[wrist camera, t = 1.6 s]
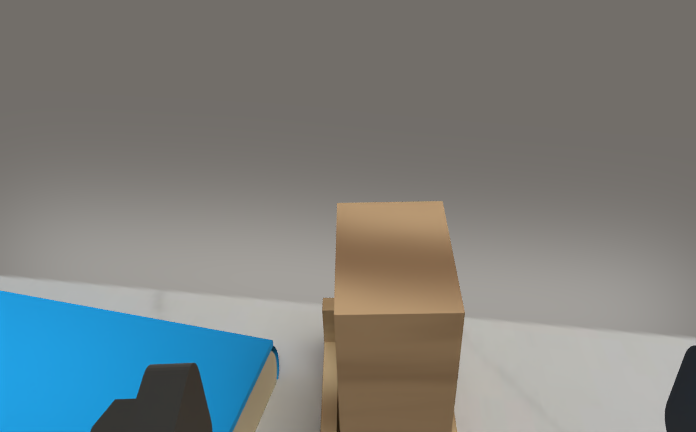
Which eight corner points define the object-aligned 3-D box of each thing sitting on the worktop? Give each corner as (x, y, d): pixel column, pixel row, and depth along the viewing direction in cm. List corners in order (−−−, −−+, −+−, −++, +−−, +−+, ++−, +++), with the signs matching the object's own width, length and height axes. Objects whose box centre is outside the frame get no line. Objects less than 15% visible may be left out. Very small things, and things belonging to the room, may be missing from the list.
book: (130, 651, 25) (-362, 504, 30) (152, 693, 27) (-305, 551, 32) (277, 330, 38) (-80, 266, 43) (283, 378, 41) (-55, 313, 46)
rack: (465, 591, 29) (477, 520, 26) (319, 592, 30) (311, 522, 26) (434, 367, 40) (440, 296, 36) (327, 369, 40) (322, 298, 37)
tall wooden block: (436, 569, 29) (464, 312, 20) (347, 570, 29) (333, 315, 20) (424, 451, 34) (442, 201, 25) (347, 452, 34) (337, 203, 25)
